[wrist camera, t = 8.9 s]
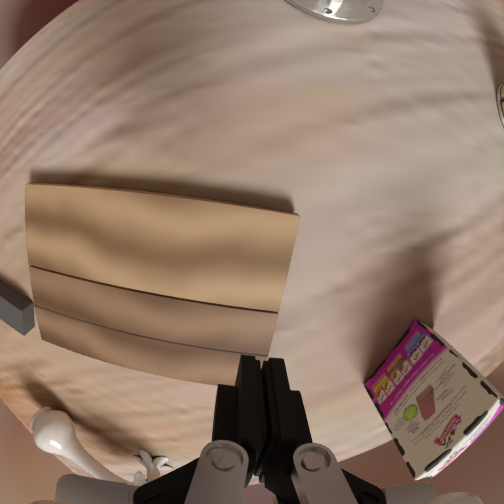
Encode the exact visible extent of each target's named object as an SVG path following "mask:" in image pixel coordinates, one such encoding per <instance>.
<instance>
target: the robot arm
mask: <svg viewBox="0 0 504 504" xmlns="http://www.w3.org/2000/svg"><path fill="white" fill-rule="evenodd" d="M286 1H287V2H289V3H290V4H292V5H293V6H294V7H296V8H298V9H300V10H302V11H303V12H305V13H308V14H310V15H312V16H315V17H317V18H321V19H324V20H327V21H331V22H336V23H344V24H359V23H363V22H367V21H369V20H371V19H373V18H374V17H375V16H376V15H377V14H378V13H379V12H380V11H381V9H382V6H383V0H286ZM253 473H254V476H259V483H265V488H267V489H268V490H270V492H271V498H272V502H273V504H483V502H482V501H481V500H480V499H479V498H478V497H477V496H476V495H474V494H471V493H464V492H457V493H449V494H445V495H441V496H437V494H436V491H435V489H434V487H433V486H432V485H430V484H428V483H419V484H411V485H400V486H386V487H384V488H382V489H380V488H378V487H377V486H374V485H372V484H370V483H368V482H366V481H364V480H362V479H360V478H358V477H356V476H354V475H353V474H351V473H349V472H347V471H345V470H343V469H342V468H340V466H339V464H338V462H337V460H336V458H335V456H334V454H333V453H332V451H331V450H330V449H329V448H327V447H326V446H324V445H322V444H317V443H313V442H312V438H311V434H310V430H309V426H308V421H307V417H306V413H305V409H304V405H303V401H302V397H301V393H300V392H299V391H294V390H290V386H289V382H288V377H287V372H286V367H285V362H284V359H282V358H269V359H268V361H265V360H264V361H263V364H262V368H261V363H260V360H256V358H255V356H251V355H243V354H241V357H240V361H239V366H238V371H237V376H236V381H235V386H232V385H224V384H218V388H217V395H216V402H215V411H214V421H213V432H212V442H211V443H208V444H207V445H206V446H205V447H204V448H203V450H202V452H201V455H200V457H199V458H197V459H195V460H193V461H191V462H190V463H188V464H186V465H184V466H182V467H180V468H178V469H176V470H174V471H172V472H170V473H168V474H166V475H164V476H161V477H159V478H157V479H155V480H153V481H150V482H148V483H146V484H143V485H142V486H134V485H128V484H127V483H121V482H114V481H107V480H101V479H95V478H90V477H85V476H80V475H76V474H67V475H63V476H62V477H61V478H59V480H58V482H57V486H56V497H55V501H54V500H40V501H35V502H33V503H31V504H241V502H242V497H243V491H244V488H246V487H247V486H248V484H249V482H250V479H251V477H252V475H253Z"/></svg>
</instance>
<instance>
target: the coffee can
mask: <svg viewBox="0 0 504 504" xmlns="http://www.w3.org/2000/svg"><path fill="white" fill-rule="evenodd" d="M497 105H498V110H499V114H500V118H501V121H502V124H503V126H504V84H501V85H500V86H499V87H498V90H497Z"/></svg>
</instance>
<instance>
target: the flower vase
mask: <svg viewBox="0 0 504 504" xmlns="http://www.w3.org/2000/svg"><path fill="white" fill-rule="evenodd" d="M29 425H30V428H31V429H32V430H33V438H34V442H35V444H36V445H37V446H38V447H39V448H40V449H42V450H43V451H45V452H48V453H51V454H58V455H61V456H64V457H66V458H68V459H70V460H71V461H73V462H75V463H76V464H77V465H79V466H80V467H82V468H83V469H84V470H86V471H87V472H88V473H90V474H91V475H92V476H94V477H95V478H96V479H101V480H107V481H114V482H121V483H127V484H128V485H134V486H142V485H143V484H146V483H148V482H150V481H153V480H155V479H157V478H159V476H160V473H159V470H173V468H171V467H169V466H162V465H163V464H165V463H167V462H168V460H169V459H168V458H167V457H157V458H155V459H154V460H153V462H152V458H151V456H150V455H149V454H148V453H147V452H146V451H144V450H139V453H140V455H141V457H142V459H143V460H142V459H141V458H139V457H136V456H133V458H134V459H135V460H137V461H138V462H140V463H141V464H142V465H143V466H145V467H146V468H147V479H145V477H144V475H143V474H142V473H141V472H140V471H138V472H137V473H136V474H135V477H134V482H129V481H127V480H125V479H123V478H121V477H119V476H117V475H115V474H114V473H112V472H111V471H109V470H108V469H107V468H105V467H104V466H103V465H102V464H100V463H99V462H98V461H97V460H96V459H95V458H93V457H92V456H91V455H90V454H89V453H88V452H87V451H86V450H85V449H84V448H83V446H82V445H81V444H80V442H79V440H78V438H77V436H76V433H75V427H74V424H73V422H72V420H71V418H70V417H69V415H68V414H67V413H65V412H63V411H60V410H52V409H51V408H50V407H43V408H41V409H40V410H39V411H37V412H36V413H35V414H34V416H33V417H32V418H31V420H30V424H29ZM161 466H162V467H161Z"/></svg>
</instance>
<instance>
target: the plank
mask: <svg viewBox="0 0 504 504" xmlns="http://www.w3.org/2000/svg"><path fill="white" fill-rule="evenodd" d="M299 218H300V216H299V215H298V214H297V213H292V212H286V211H281V210H275V209H269V208H263V207H257V206H251V205H244V204H238V203H231V202H225V201H218V200H211V199H203V198H196V197H188V196H181V195H173V194H164V193H156V192H147V191H137V190H127V189H117V188H106V187H94V186H81V185H67V184H50V183H30V184H26V189H25V219H26V239H27V251H28V261H29V264H30V265H33V266H37V267H40V268H44V269H48V270H52V271H56V272H60V273H64V274H68V275H72V276H76V277H80V278H84V279H89V280H93V281H97V282H102V283H106V284H111V285H116V286H120V287H125V288H130V289H135V290H140V291H145V292H151V293H156V294H161V295H167V296H173V297H178V298H184V299H190V300H196V301H203V302H209V303H216V304H222V305H229V306H237V307H244V308H251V309H259V310H267V311H276V312H279V308H280V304H281V300H282V296H283V291H284V287H285V283H286V279H287V274H288V270H289V265H290V261H291V256H292V252H293V247H294V242H295V238H296V233H297V228H298V223H299Z"/></svg>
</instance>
